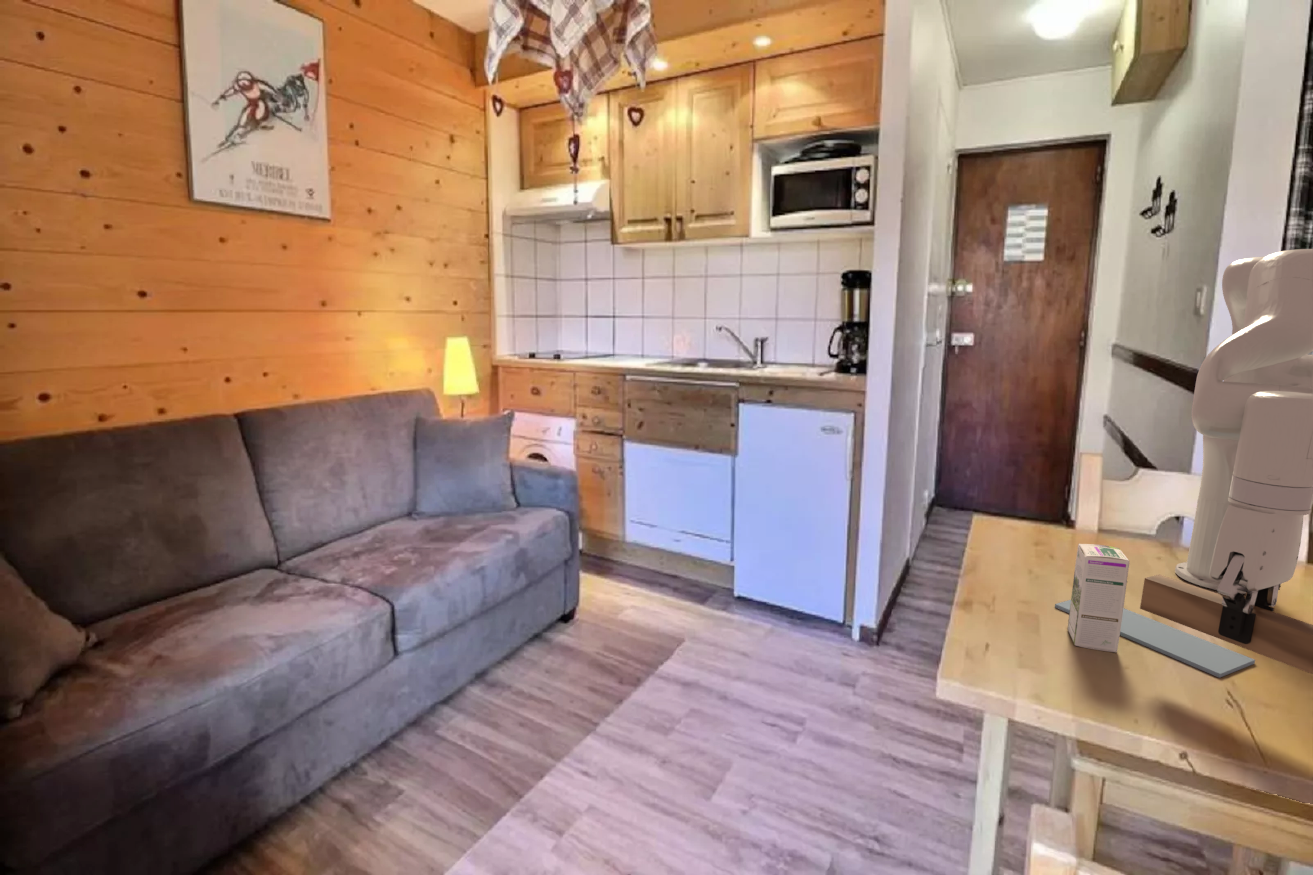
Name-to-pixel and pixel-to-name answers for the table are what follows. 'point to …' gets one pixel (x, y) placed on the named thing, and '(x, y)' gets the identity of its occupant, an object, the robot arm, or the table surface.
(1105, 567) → the syrup box
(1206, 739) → the table surface
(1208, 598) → the wooden beam
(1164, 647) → the rubber mat
